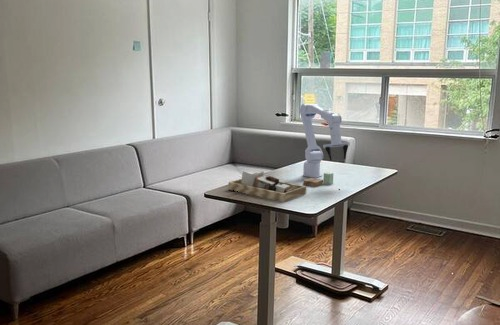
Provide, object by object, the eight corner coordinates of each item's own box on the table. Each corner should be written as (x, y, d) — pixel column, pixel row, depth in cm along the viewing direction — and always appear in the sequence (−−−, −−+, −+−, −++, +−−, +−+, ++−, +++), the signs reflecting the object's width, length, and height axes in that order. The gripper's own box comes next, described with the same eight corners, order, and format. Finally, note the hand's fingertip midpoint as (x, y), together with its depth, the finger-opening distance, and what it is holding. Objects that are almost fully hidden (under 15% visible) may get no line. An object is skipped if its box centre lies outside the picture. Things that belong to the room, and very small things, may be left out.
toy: (297, 199, 250) (250, 183, 265) (300, 182, 248) (252, 166, 262) (286, 205, 240) (237, 187, 254) (289, 187, 237) (240, 170, 252)
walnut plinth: (303, 185, 269) (303, 180, 268) (310, 182, 275) (311, 177, 274) (315, 187, 264) (315, 182, 263) (322, 185, 270) (323, 179, 269)
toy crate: (228, 189, 256) (228, 182, 256) (252, 182, 272) (252, 176, 271) (283, 202, 234) (284, 194, 233) (306, 193, 249) (306, 186, 248)
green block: (323, 183, 272) (323, 173, 271) (326, 182, 275) (327, 172, 274) (329, 184, 270) (329, 174, 268) (333, 183, 273) (333, 173, 271)
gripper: (321, 136, 265) (324, 161, 265) (348, 133, 261) (350, 158, 261) (323, 137, 272) (325, 160, 272) (349, 134, 268) (351, 158, 268)
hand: (337, 159), depth 267 cm, fingers open, 7 cm apart
